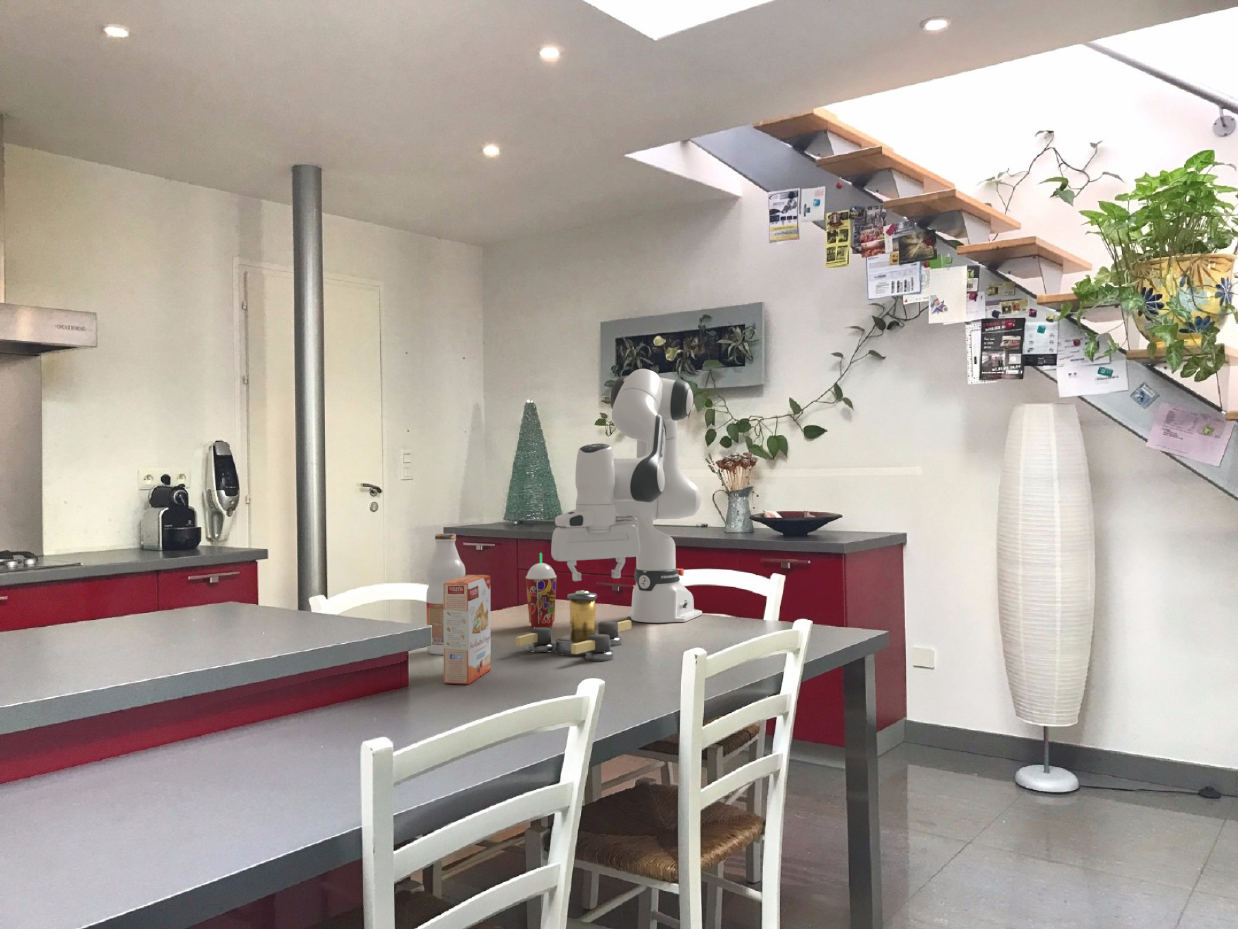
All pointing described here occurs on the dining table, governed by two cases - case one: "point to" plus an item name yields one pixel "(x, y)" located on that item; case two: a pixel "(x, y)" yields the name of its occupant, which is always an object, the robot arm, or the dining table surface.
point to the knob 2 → (592, 644)
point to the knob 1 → (535, 637)
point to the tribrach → (579, 629)
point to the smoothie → (541, 594)
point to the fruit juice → (441, 585)
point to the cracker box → (466, 628)
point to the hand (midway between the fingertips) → (596, 579)
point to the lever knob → (613, 627)
